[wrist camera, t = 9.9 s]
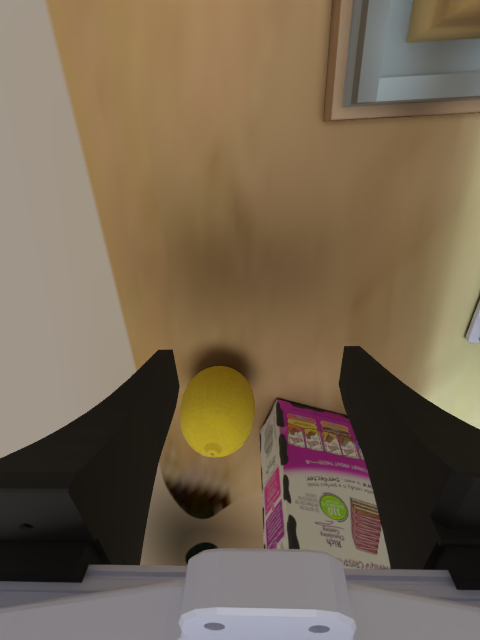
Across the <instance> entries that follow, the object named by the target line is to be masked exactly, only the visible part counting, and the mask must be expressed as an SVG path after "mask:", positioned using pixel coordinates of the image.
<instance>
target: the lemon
mask: <svg viewBox="0 0 480 640" xmlns="http://www.w3.org/2000/svg"><path fill="white" fill-rule="evenodd" d="M254 414H255V401H254V396H253V391H252V389H251V387H250V385H249V383H248V381H247V380H246V378H245V377H244V376H243V375H242V374H241V373H239V372H238V371H236V370H234V369H232V368H229V367H226V366H213V367H209V368H206V369H204V370H202V371H201V372H199V373H198V374H197V375H196V376H195V377H194V378H193V379H192V380H191V381H190V382H189V384H188V386H187V388H186V390H185V391H184V394H183V397H182V402H181V407H180V423H181V428H182V433H183V435H184V437H185V439H186V441H187V443H188V444H189V445H190V446H191V447H192V448H193V449H194V450H195V451H197V452H198V453H200V454H202V455H205V456H208V457H223V456H227V455H229V454H231V453H233V452H235V451H236V450H238V449H239V448H240V447H241V446H242V445H243V444H244V443H245V441H246V439H247V437H248V436H249V434H250V432H251V429H252V426H253V421H254Z"/></svg>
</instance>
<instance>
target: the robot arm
mask: <svg viewBox="0 0 480 640" xmlns="http://www.w3.org/2000/svg"><path fill="white" fill-rule="evenodd" d="M479 337H480V300H479V303H478V306H477V308H476V311H475V313H474V316H473V319H472V321H471V324H470V327H469V329H468V332H467V335H466V340H467V341H468V342H469V343H472V344H480V338H479ZM339 387H340V392H341V396H342V400H343V404H344V407H345V410H346V413H347V415H348V418H349V421H350V423H351V426H352V429H353V431H354V434H355V436H356V439H357V441H358V444H359V447H360V449H361V452H362V455H363V458H364V460H365V463H366V467H367V471H368V474H369V478H370V482H371V485H372V489H373V493H374V497H375V501H376V505H377V509H378V513H379V517H380V522H381V526H382V530H383V535H384V539H385V543H386V548H387V553H388V558H389V562H390V567H391V569H344V568H343V565H342V562H341V561H340V560H338V559H337V558H335V557H334V556H332V555H330V554H328V553H326V552H322V551H315V550H308V549H238V548H235V549H234V548H220V549H211V550H204V551H202V552H200V553H199V554H197V555H195V556H193V557H192V558H191V559H190V560H189V562H188V566H151V565H149V566H148V565H147V566H146V565H145V566H144V565H140V561H141V554H142V547H143V541H144V535H145V528H146V523H147V517H148V511H149V506H150V501H151V496H152V491H153V486H154V481H155V476H156V472H157V467H158V463H159V459H160V456H161V452H162V449H163V446H164V443H165V440H166V437H167V434H168V430H169V427H170V424H171V421H172V418H173V415H174V411H175V408H176V403H177V398H178V392H179V381H178V375H177V370H176V365H175V360H174V354H173V350H158V351H157V352H156V353H155V354H154V355H153V356H152V357H151V358H150V359H149V360H148V361H147V362H146V363H145V364H144V365H143V366H142V367H141V368H140V369H139V370H138V371H137V372H136V373H135V374H133V375H132V376H131V378H129V379H128V380H127V381H126V382H125V383H124V384H122V385H121V386H120V387H119V388H118V389H117V390H116V391H115V392H113V393H112V394H111V395H110V396H109V397H107V398H106V399H105V400H103V401H102V402H101V403H99V404H98V405H97V406H95V407H94V408H92V409H91V410H90V411H88V412H87V413H85V414H84V415H82V416H80V417H79V418H77V419H76V420H74V421H72V422H71V423H69V424H68V425H66V426H64V427H63V428H61V429H59V430H57V431H56V432H54V433H52V434H50V435H48V436H46V437H45V438H43V439H41V440H39V441H37V442H35V443H33V444H31V445H29V446H27V447H24V448H22V449H20V450H18V451H16V452H13V453H11V454H9V455H7V456H5V457H3V458H0V640H480V429H478V428H476V427H474V426H472V425H470V424H468V423H466V422H464V421H462V420H460V419H458V418H457V417H455V416H453V415H451V414H449V413H448V412H446V411H444V410H442V409H441V408H439V407H438V406H436V405H434V404H433V403H431V402H430V401H428V400H427V399H425V398H424V397H422V396H421V395H419V394H418V393H416V392H415V391H414V390H412V389H411V388H409V387H408V386H407V385H405V384H404V383H403V382H401V381H400V380H399V379H398V378H396V377H395V376H394V375H393V374H391V373H390V372H389V371H388V370H387V369H385V368H384V367H383V366H382V365H381V364H380V363H378V362H377V361H376V360H375V359H374V358H373V357H372V356H370V355H369V354H368V353H367V352H366V351H365V350H364V349H362V348H361V347H360V346H344V352H343V359H342V366H341V373H340V379H339Z"/></svg>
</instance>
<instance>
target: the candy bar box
mask: <svg viewBox="0 0 480 640" xmlns="http://www.w3.org/2000/svg"><path fill="white" fill-rule="evenodd" d="M260 453H261V479H262V505H263V528H264V549H308V550H315V551H322V552H326V553H328V554H330V555H332V556H334V557H335V558H337V559H338V560H340V561H341V562H342V565H343V568H344V569H391V567H390V562H389V558H388V553H387V548H386V543H385V539H384V535H383V530H382V526H381V522H380V517H379V513H378V509H377V505H376V501H375V497H374V493H373V489H372V485H371V482H370V478H369V474H368V471H367V467H366V463H365V460H364V458H363V455H362V452H361V449H360V447H359V444H358V441H357V439H356V436H355V434H354V431H353V429H352V426H351V423H350V421H349V418H348V416H344V415H340V414H336V413H331V412H327V411H323V410H319V409H315V408H310V407H306V406H302V405H298V404H294V403H290V402H286V401H282V400H278V399H277V400H276V401H275V403H274V405H273V407H272V409H271V412H270V413H269V415H268V417H267V419H266V421H265V422H264V424H263V426H262V428H261V430H260Z"/></svg>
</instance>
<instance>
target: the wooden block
mask: <svg viewBox="0 0 480 640" xmlns="http://www.w3.org/2000/svg"><path fill="white" fill-rule="evenodd" d="M477 38H480V0H413V5H412V11H411V17H410V23H409V28H408V34H407V40H406V43H412V42H429V41H445V40H461V39H477Z"/></svg>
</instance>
